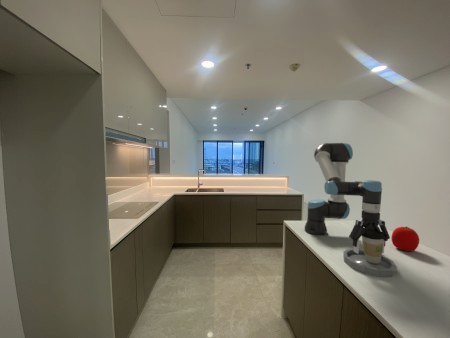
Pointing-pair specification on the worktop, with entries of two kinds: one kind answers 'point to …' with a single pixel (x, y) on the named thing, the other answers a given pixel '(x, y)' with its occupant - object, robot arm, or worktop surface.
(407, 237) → the tomato
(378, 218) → the robot arm
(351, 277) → the worktop surface
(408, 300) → the worktop surface
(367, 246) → the coffee cup
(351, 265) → the tray
